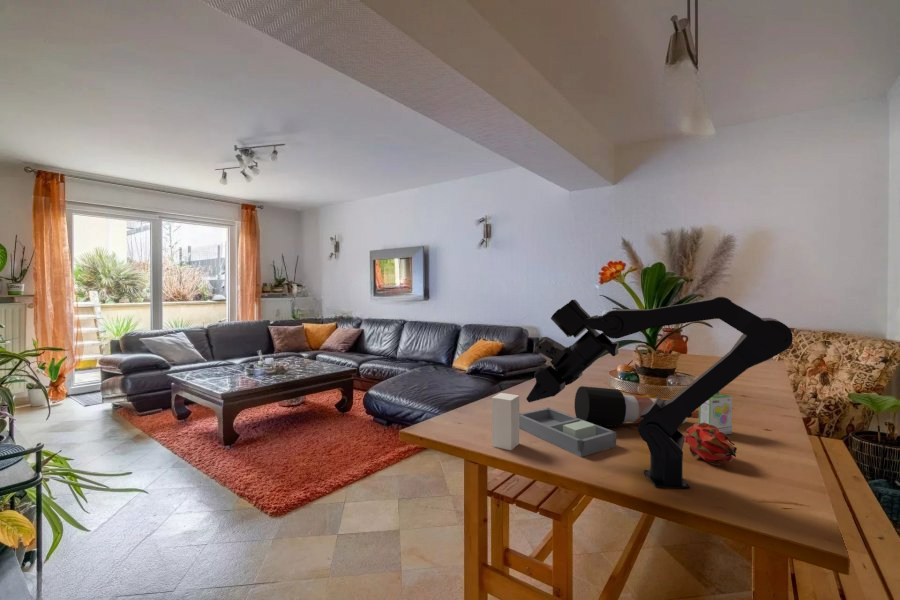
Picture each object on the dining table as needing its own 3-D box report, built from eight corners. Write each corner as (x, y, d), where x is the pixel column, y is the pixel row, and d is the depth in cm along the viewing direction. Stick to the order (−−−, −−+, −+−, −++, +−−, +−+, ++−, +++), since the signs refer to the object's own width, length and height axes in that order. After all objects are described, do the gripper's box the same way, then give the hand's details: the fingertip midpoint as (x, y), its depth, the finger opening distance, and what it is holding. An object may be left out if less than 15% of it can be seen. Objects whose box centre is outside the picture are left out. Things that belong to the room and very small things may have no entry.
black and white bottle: (700, 441, 113) (716, 414, 108) (581, 431, 111) (592, 404, 106) (682, 414, 122) (695, 388, 117) (571, 405, 119) (581, 378, 114)
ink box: (711, 437, 104) (712, 385, 103) (697, 431, 108) (698, 381, 107) (732, 434, 106) (733, 383, 105) (718, 429, 109) (719, 379, 109)
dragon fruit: (688, 453, 97) (732, 484, 86) (666, 436, 95) (707, 466, 84) (710, 425, 97) (756, 452, 86) (688, 408, 95) (733, 433, 83)
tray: (616, 446, 98) (616, 428, 98) (580, 457, 92) (581, 437, 92) (548, 419, 118) (548, 404, 118) (516, 426, 112) (516, 410, 112)
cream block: (519, 443, 100) (519, 395, 100) (511, 450, 96) (511, 400, 96) (500, 439, 103) (500, 392, 103) (492, 446, 99) (491, 397, 99)
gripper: (569, 322, 100) (527, 362, 106) (543, 329, 84) (495, 376, 90) (602, 357, 96) (556, 397, 102) (582, 371, 80) (529, 417, 86)
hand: (535, 395), depth 95 cm, fingers open, 9 cm apart
